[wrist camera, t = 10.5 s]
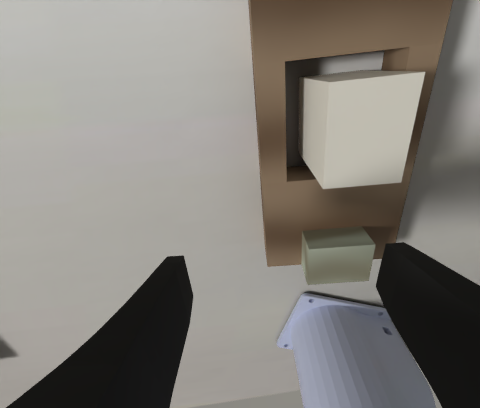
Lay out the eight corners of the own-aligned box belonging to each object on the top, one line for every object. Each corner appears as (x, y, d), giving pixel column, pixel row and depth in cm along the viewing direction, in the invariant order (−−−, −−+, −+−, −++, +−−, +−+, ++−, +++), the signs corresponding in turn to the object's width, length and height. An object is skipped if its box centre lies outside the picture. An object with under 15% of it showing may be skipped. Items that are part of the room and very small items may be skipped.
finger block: (360, 70, 15) (425, 71, 10) (351, 149, 17) (400, 186, 12) (299, 77, 15) (329, 81, 10) (298, 155, 17) (322, 192, 12)
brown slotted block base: (241, -103, 12) (241, -191, 8) (446, -134, 11) (559, -246, 7) (264, 245, 21) (270, 287, 17) (375, 237, 20) (407, 278, 17)
